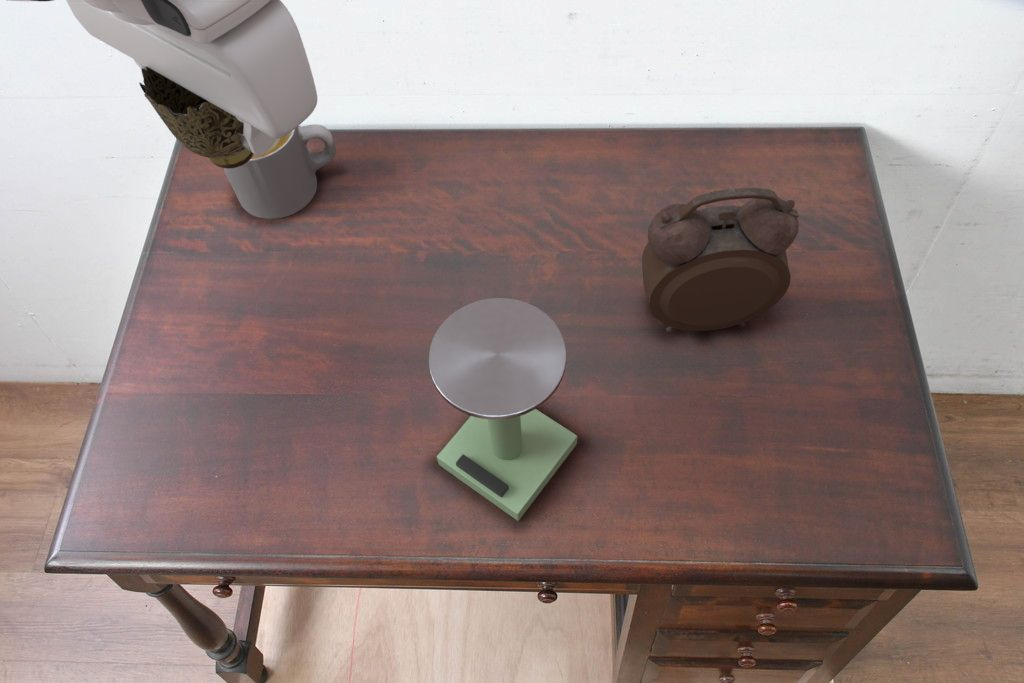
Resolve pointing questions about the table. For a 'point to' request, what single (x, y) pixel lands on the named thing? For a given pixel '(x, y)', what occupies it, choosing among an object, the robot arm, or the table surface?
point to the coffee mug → (282, 174)
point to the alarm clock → (718, 259)
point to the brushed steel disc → (497, 358)
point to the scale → (508, 457)
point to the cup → (196, 121)
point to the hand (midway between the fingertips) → (220, 124)
